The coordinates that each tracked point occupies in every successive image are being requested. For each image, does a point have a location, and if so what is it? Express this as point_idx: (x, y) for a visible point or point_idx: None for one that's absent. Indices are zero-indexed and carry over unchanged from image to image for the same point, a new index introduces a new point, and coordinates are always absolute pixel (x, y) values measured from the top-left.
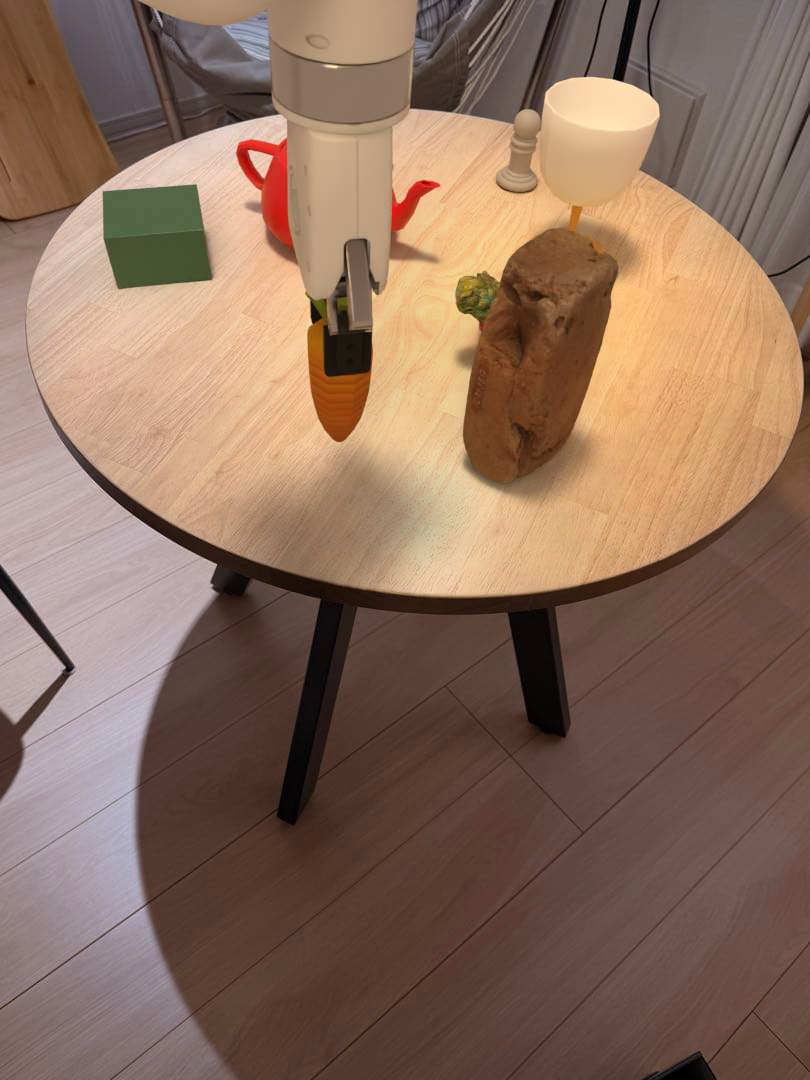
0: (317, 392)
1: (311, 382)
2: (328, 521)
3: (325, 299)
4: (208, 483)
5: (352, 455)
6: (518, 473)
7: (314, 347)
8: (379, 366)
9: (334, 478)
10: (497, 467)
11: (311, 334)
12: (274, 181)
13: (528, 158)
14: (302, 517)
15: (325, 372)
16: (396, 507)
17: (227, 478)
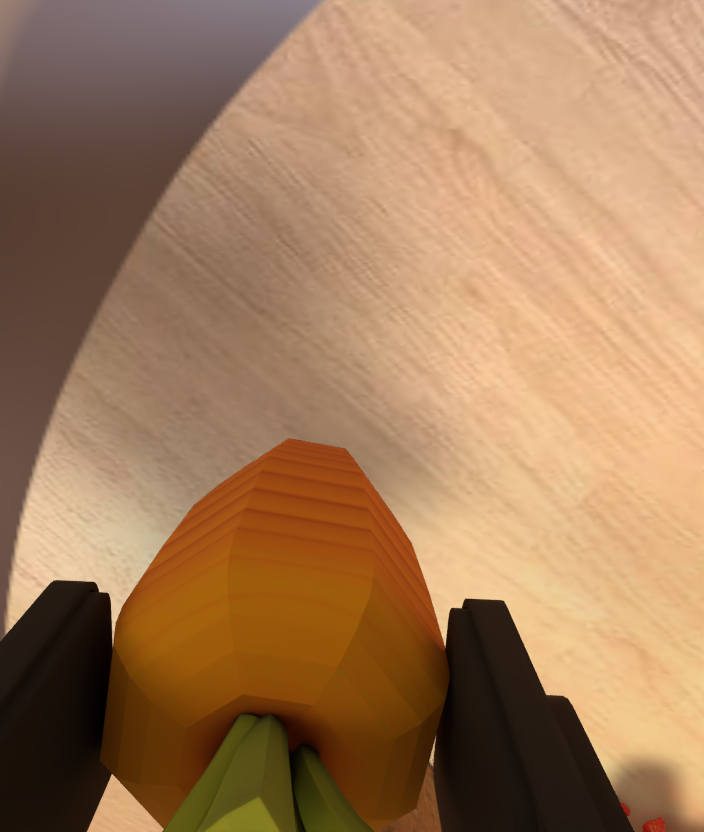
0: (237, 481)
1: (253, 476)
2: (243, 368)
3: (473, 775)
4: (428, 104)
5: (424, 465)
6: None
7: (195, 587)
8: (690, 595)
9: (365, 409)
10: None
11: (280, 600)
12: None
13: None
14: (267, 313)
15: (47, 588)
16: None
17: (431, 156)
